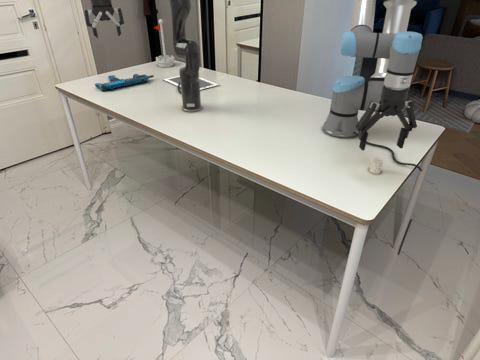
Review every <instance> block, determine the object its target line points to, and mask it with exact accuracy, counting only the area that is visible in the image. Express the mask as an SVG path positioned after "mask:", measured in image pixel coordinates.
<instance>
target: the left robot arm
mask: <svg viewBox="0 0 480 360" xmlns="http://www.w3.org/2000/svg"><path fill="white" fill-rule="evenodd" d="M168 3H169V11H170V18H171V28H172V29H171V30H172V48H173V54H174V57H176V58H177V59H178V60H183V61H185V66H182V67H180V68H179V71H178V72H179V76H180V82H179V84H178V86H177V91H178V93H179V94H180V95H181V102H182V110H183V111H184V112H188V113H195V112H199V111H201V110H202V99H201V90H200V82H199V77H200V68H201V54H200V53H201V52H200V46H199V43H198V41H196V40H195V39H190V38H187V35H186V23H187V21H188V19H189V15H190V12H191V8H192V0H168ZM90 4H91V9H87V8H84V9H83V12H84V18H85V24H86V26H87V27H90V28H91V29H92V34H93V36H94V37H95V38H96V39H99V34H98V30H97V25H98V23H99V21H100V22H103V21H106V22H107V21H109V22H110V21H112V22H113V23H114V24H115V30H116V35H117V37H120V36H121V35H122V30H121V29H122V28H121V25H124V24H125V21H124V20H125V19H124V16H123V15H124V14H123V11H122V9H121V7H119V6H118V7H115V8H114V7H113V2H112V0H90ZM115 13H116V14H117V15H118V18H119V21H118V20H117V19H116V18H115V17H114V16H113V15H114V14H115ZM92 14H93V16H94V19H93V20H92V22H91V21H90V16H91V15H92ZM180 84H181V88H180V87H179V86H180Z"/></svg>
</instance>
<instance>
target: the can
mask: <svg viewBox="0 0 480 360" xmlns="http://www.w3.org/2000/svg"><path fill="white" fill-rule="evenodd" d="M383 163H384V161H383V160H382V159H380V158H377V157H375V158H374V157H373V158H371V161H370V165H369V169H368V170H369V171H368V172H370V173H372V174H374V175H375V174H380V173H381V171H382V168H383Z"/></svg>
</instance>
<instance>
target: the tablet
mask: <svg viewBox="0 0 480 360" xmlns="http://www.w3.org/2000/svg"><path fill="white" fill-rule="evenodd" d="M162 80H163V81H165V82H166V83H169V84H171V85H173V86H175V87H178V84H179V82H180V75H176V76H172V77H167V78H163V79H162ZM199 82H200V91H204V90H206V89H210V88H214V87H218V86H220V84H219V83H216V82H214V81H210V80H209V79H205V78H202V77H200V76H199ZM179 89H181V84H180V86H179Z"/></svg>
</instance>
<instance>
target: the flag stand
mask: <svg viewBox="0 0 480 360" xmlns="http://www.w3.org/2000/svg"><path fill="white" fill-rule="evenodd" d="M163 24H164V20H163V19H162V18H160V19H158V25H155V26H154V27H153V28H154V29H155V30H157V31H159V32H160V35H161V44H162V51H163V52H162V53H163V55H159V56H156V57H155V62H156V63H157V66H158V67H160V68H170V67H174V66H175V63H174V62H175V61H176V60H175V55H169V54H167V52H166V43H165V35H164V27H163Z"/></svg>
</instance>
